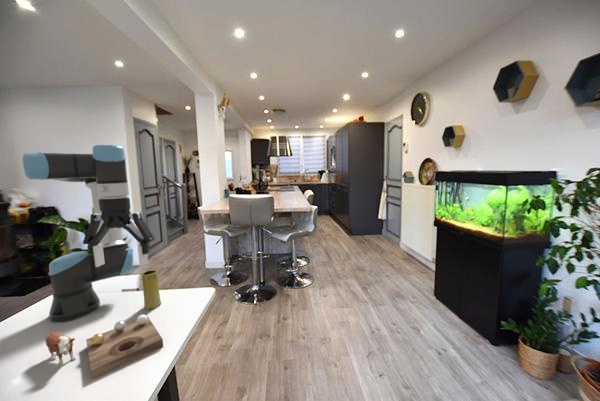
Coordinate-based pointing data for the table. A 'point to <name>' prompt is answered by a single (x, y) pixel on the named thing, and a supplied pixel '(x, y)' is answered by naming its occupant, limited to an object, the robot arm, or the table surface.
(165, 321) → the table surface
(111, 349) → the board
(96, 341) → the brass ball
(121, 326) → the steel ball
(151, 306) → the vase
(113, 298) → the table surface
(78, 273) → the robot arm
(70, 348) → the bull figurine
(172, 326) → the table surface
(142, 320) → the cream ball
